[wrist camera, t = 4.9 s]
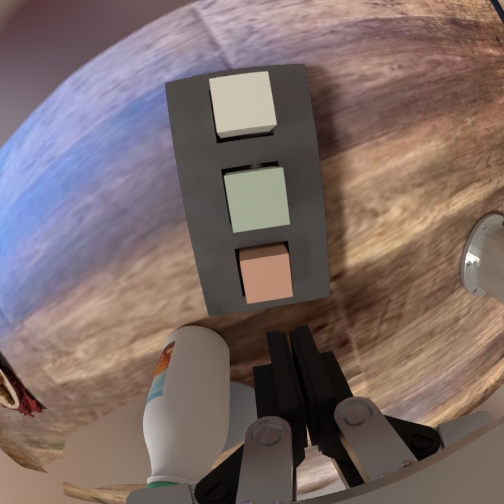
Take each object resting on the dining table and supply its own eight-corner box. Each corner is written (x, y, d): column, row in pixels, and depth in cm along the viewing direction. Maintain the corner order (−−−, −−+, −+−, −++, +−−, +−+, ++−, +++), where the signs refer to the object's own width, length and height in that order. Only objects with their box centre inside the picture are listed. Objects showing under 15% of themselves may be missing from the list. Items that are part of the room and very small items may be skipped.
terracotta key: (280, 238, 27) (288, 253, 23) (284, 276, 28) (292, 296, 24) (239, 245, 27) (239, 261, 23) (245, 282, 28) (247, 303, 24)
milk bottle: (197, 311, 29) (165, 485, 10) (243, 353, 31) (253, 514, 12) (152, 344, 30) (103, 492, 12) (197, 381, 33) (182, 523, 14)
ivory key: (262, 86, 20) (267, 71, 16) (269, 131, 21) (276, 124, 17) (213, 93, 20) (209, 78, 16) (220, 138, 21) (217, 132, 17)
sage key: (274, 166, 22) (283, 167, 18) (280, 212, 24) (290, 224, 19) (226, 173, 22) (223, 176, 18) (233, 219, 24) (233, 232, 19)
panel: (297, 72, 22) (304, 64, 19) (322, 285, 29) (329, 296, 27) (171, 89, 22) (164, 83, 19) (210, 303, 29) (209, 316, 26)
